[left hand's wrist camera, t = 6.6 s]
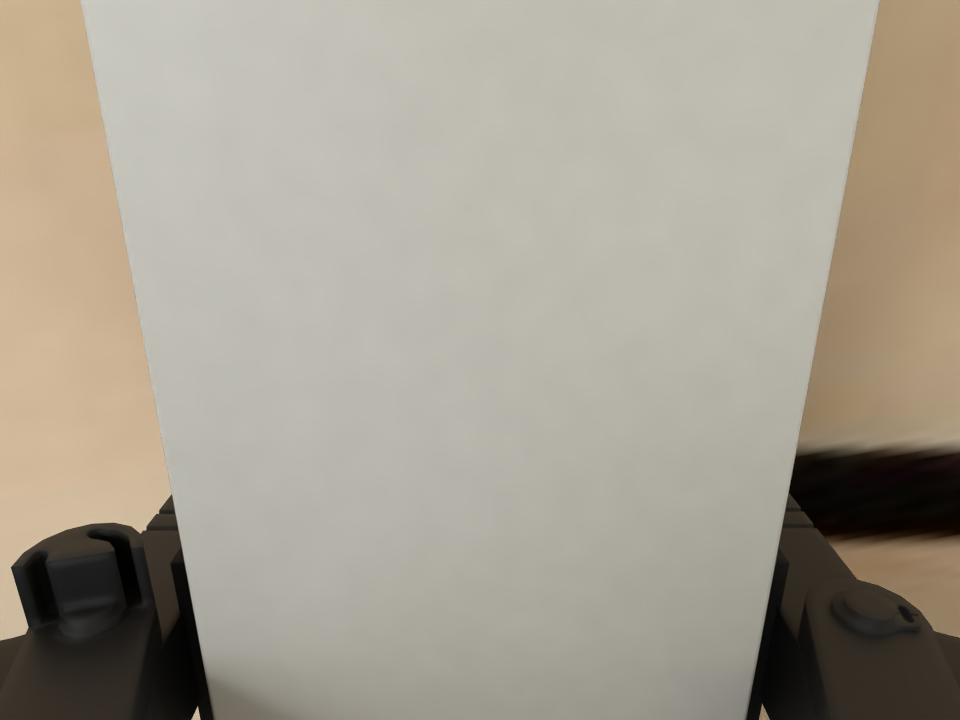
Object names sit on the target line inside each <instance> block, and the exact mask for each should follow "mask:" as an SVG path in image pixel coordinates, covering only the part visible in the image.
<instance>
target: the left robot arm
mask: <svg viewBox="0 0 960 720" xmlns="http://www.w3.org/2000/svg"><path fill="white" fill-rule="evenodd" d="M11 569H12V572H13V576H14V579H15V583H16V586H17V589H18V593H19V596H20V599H21V603H22V606H23V609H24V613H25V616H26V620H27V623H28V626H29V628H28V630H27V632H26V634H25V635H22V636H18V637H15V638H11V639H6V640H2V641H0V720H191V719H192V717H193V715H194V713H195V711H196V708H197V706H198V708H199V713H200V719H201V720H214V718H213V712H212V707H211V702H210V696H209V691H208V685H207V680H206V675H205V669H204V664H203V658H202V653H201V648H200V642H199V637H198V631H197V626H196V621H195V615H194V610H193V605H192V599H191V594H190V588H189V583H188V578H187V572H186V567H185V561H184V556H183V551H182V545H181V540H180V534H179V529H178V524H177V518H176V513H175V507H174V502H173V497H172V495H171V496H170V497H169V499H168V500H167V501H166V502H165V504H164V505H163V506H162V508H161V509H160V510H159V514H156V515H155V516H154V518H153V519H152V520H151V522H150V523H149V524H148V525H147V529H146V531H143V532H142V533H141V534H140V533H139V532H137V531H136V530H135V529H134V528H132V527H131V526H127V525H122V524H117V523H100V524H89V525H85V526H81V527H77V528H72V529H68V530H65V531H63V532H61V533H58V534H56V535H54V536H51V537H49V538H46V539H44V540H42V541H41V542H39V543H38V544H36V545H35V546H33V547H32V548H30V549H29V550H27V551H26V552H24V553H23V554H22V555H21V556H20V558H19V559H18V560H17V561H16V562H15V563H14V565H13V566H12V567H11ZM762 704H763V706H764V708H765V710H766V712H767V714H768V716H769V719H770V720H960V638H959V637H954V636H949V635H946V634H942V633H938V632H935V631H933V629H932V627H931V625H930V624H929V623H928V621H927V620H926V618H925V617H924V616H923V614H922V613H921V612H920V610H918V609H917V608H916V607H914V606H913V605H912V604H910V603H909V602H908V601H906V600H905V599H904V598H902V597H901V596H899V595H897V594H895V593H893V592H891V591H889V590H887V589H885V588H883V587H880V586H878V585H875V584H871V583H867V582H864V581H860V580H857V579H856V577H855V576H854V575H853V574H852V572H851V571H850V570H849V568H848V567H847V566H846V565H845V563H844V562H843V561H842V560H841V558H840V557H839V556H838V555H837V553H836V552H835V551H834V549H833V548H832V547H831V546H830V544H829V543H828V542H827V541H826V539H825V538H824V537H823V535H822V534H821V533H820V532H819V530H818V529H817V528H814V526H813V523H812V522H811V520H810V519H809V518H808V516H807V515H806V514H805V513H804V512H801V508H800V506H799V505H798V504H797V503H796V501H795V500H794V499H793V497H792V496H791V495H790V494H789V492H788V497H787V503H786V508H785V513H784V519H783V524H782V530H781V535H780V540H779V546H778V551H777V556H776V562H775V567H774V573H773V578H772V583H771V589H770V594H769V599H768V605H767V610H766V615H765V621H764V626H763V632H762V637H761V642H760V648H759V653H758V658H757V664H756V669H755V674H754V680H753V685H752V691H751V696H750V701H749V707H748V712H747V717H746V720H759V716H760V711H761V706H762Z"/></svg>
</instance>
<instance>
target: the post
mask: <svg viewBox="0 0 960 720" xmlns="http://www.w3.org/2000/svg"><path fill="white" fill-rule="evenodd" d="M80 1H81V6H82V11H83V17H84V22H85V28H86V33H87V38H88V44H89V49H90V55H91V60H92V65H93V71H94V76H95V81H96V87H97V92H98V98H99V103H100V108H101V114H102V119H103V125H104V130H105V135H106V141H107V146H108V152H109V157H110V162H111V168H112V173H113V179H114V184H115V189H116V195H117V200H118V205H119V211H120V216H121V222H122V227H123V232H124V238H125V243H126V249H127V254H128V259H129V265H130V270H131V276H132V281H133V286H134V292H135V297H136V303H137V308H138V313H139V319H140V324H141V330H142V335H143V340H144V346H145V351H146V356H147V362H148V367H149V373H150V378H151V383H152V389H153V394H154V400H155V405H156V410H157V416H158V421H159V427H160V432H161V437H162V443H163V448H164V454H165V459H166V464H167V470H168V475H169V481H170V486H171V491H172V497H173V502H174V507H175V513H176V518H177V524H178V529H179V534H180V540H181V545H182V551H183V556H184V561H185V567H186V572H187V578H188V583H189V588H190V594H191V599H192V605H193V610H194V615H195V621H196V626H197V631H198V637H199V642H200V648H201V653H202V658H203V664H204V669H205V675H206V680H207V685H208V691H209V696H210V702H211V707H212V712H213V718H214V720H746V717H747V712H748V707H749V701H750V696H751V691H752V685H753V680H754V674H755V669H756V664H757V658H758V653H759V648H760V642H761V637H762V632H763V626H764V621H765V615H766V610H767V605H768V599H769V594H770V589H771V583H772V578H773V573H774V567H775V562H776V556H777V551H778V546H779V540H780V535H781V530H782V524H783V519H784V513H785V508H786V503H787V497H788V492H789V487H790V481H791V476H792V471H793V465H794V460H795V454H796V449H797V444H798V438H799V433H800V428H801V422H802V417H803V412H804V406H805V401H806V395H807V390H808V385H809V379H810V374H811V369H812V363H813V358H814V352H815V347H816V342H817V336H818V331H819V326H820V320H821V315H822V310H823V304H824V299H825V293H826V288H827V283H828V277H829V272H830V267H831V261H832V256H833V250H834V245H835V240H836V234H837V229H838V224H839V218H840V213H841V208H842V202H843V197H844V191H845V186H846V181H847V175H848V170H849V165H850V159H851V154H852V149H853V143H854V138H855V132H856V127H857V122H858V116H859V111H860V106H861V100H862V95H863V89H864V84H865V79H866V73H867V68H868V63H869V57H870V52H871V47H872V41H873V36H874V30H875V25H876V20H877V14H878V9H879V4H880V0H80Z"/></svg>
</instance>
